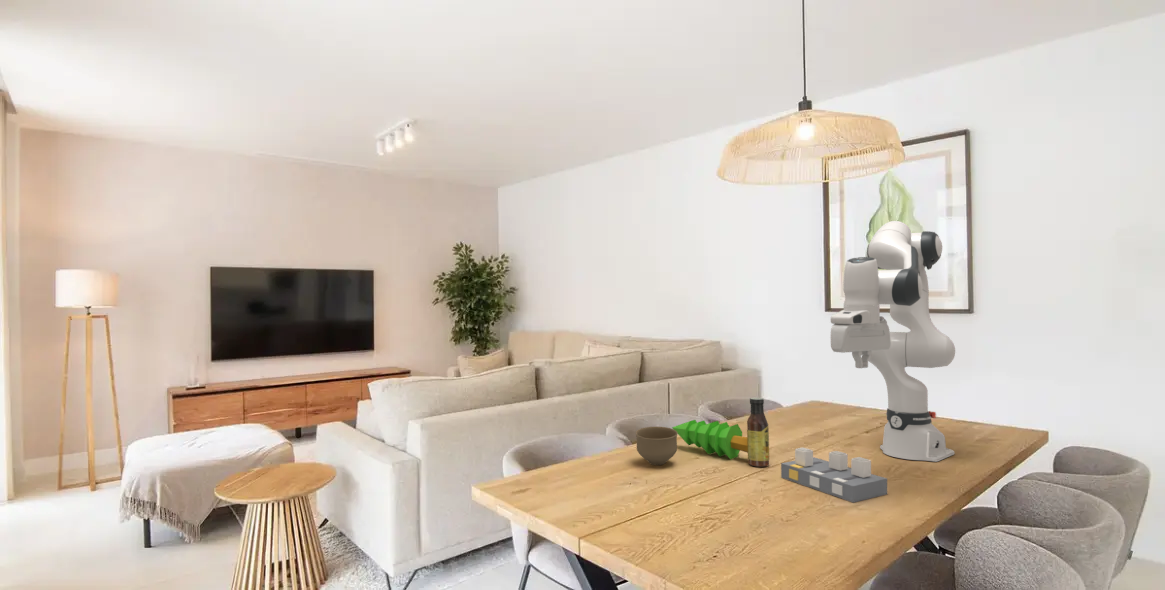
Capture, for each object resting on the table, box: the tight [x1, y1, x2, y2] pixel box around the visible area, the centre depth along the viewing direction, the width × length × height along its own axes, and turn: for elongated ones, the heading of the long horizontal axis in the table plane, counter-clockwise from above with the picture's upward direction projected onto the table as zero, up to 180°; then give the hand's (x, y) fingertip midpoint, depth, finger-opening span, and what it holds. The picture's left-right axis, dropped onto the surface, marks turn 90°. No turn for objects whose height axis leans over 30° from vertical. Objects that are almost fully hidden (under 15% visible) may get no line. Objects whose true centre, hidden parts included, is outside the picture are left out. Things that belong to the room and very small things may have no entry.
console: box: [780, 456, 888, 504], centre depth 158 cm, size 13×23×4 cm, turn 28°
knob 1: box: [794, 447, 814, 467], centre depth 163 cm, size 3×4×4 cm
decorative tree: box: [671, 419, 748, 460], centre depth 191 cm, size 11×12×30 cm
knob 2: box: [828, 450, 849, 471], centre depth 159 cm, size 3×4×4 cm
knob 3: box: [850, 456, 872, 478], centre depth 153 cm, size 3×4×4 cm
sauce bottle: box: [746, 397, 770, 468], centre depth 178 cm, size 6×6×20 cm
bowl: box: [635, 426, 678, 466], centre depth 179 cm, size 13×13×10 cm
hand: (861, 367), depth 160 cm, fingers closed
